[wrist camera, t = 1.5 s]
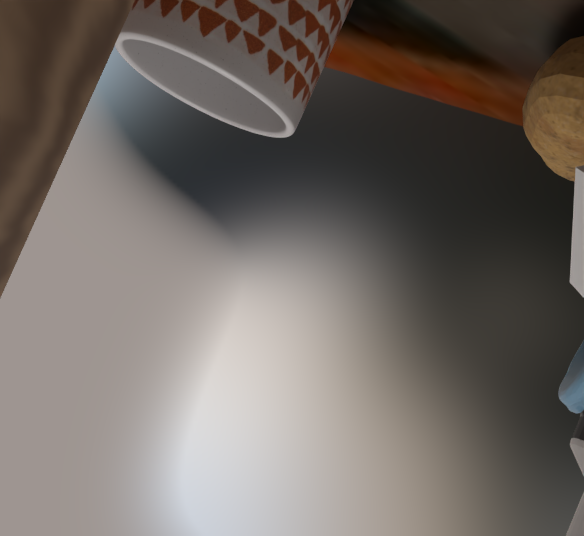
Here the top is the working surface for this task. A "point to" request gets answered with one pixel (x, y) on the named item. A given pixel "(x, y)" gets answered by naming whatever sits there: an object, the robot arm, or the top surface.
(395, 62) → the top surface
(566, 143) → the potato
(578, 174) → the robot arm
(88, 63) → the stand
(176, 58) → the planter
